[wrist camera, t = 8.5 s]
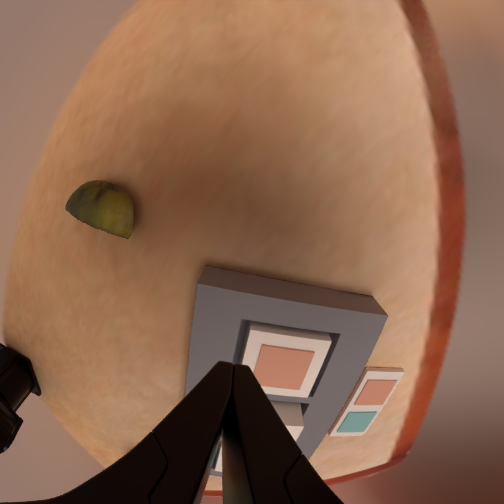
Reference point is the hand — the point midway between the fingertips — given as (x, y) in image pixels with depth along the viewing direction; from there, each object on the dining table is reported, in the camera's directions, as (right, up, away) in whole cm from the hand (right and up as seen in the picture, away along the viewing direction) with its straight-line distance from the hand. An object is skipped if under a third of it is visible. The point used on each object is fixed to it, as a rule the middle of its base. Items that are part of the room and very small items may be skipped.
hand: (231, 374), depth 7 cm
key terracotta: (+3, -4, +14) cm, 15 cm away
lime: (-9, +7, +12) cm, 17 cm away
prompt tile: (+12, -12, +17) cm, 24 cm away
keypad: (+1, -10, +17) cm, 20 cm away
